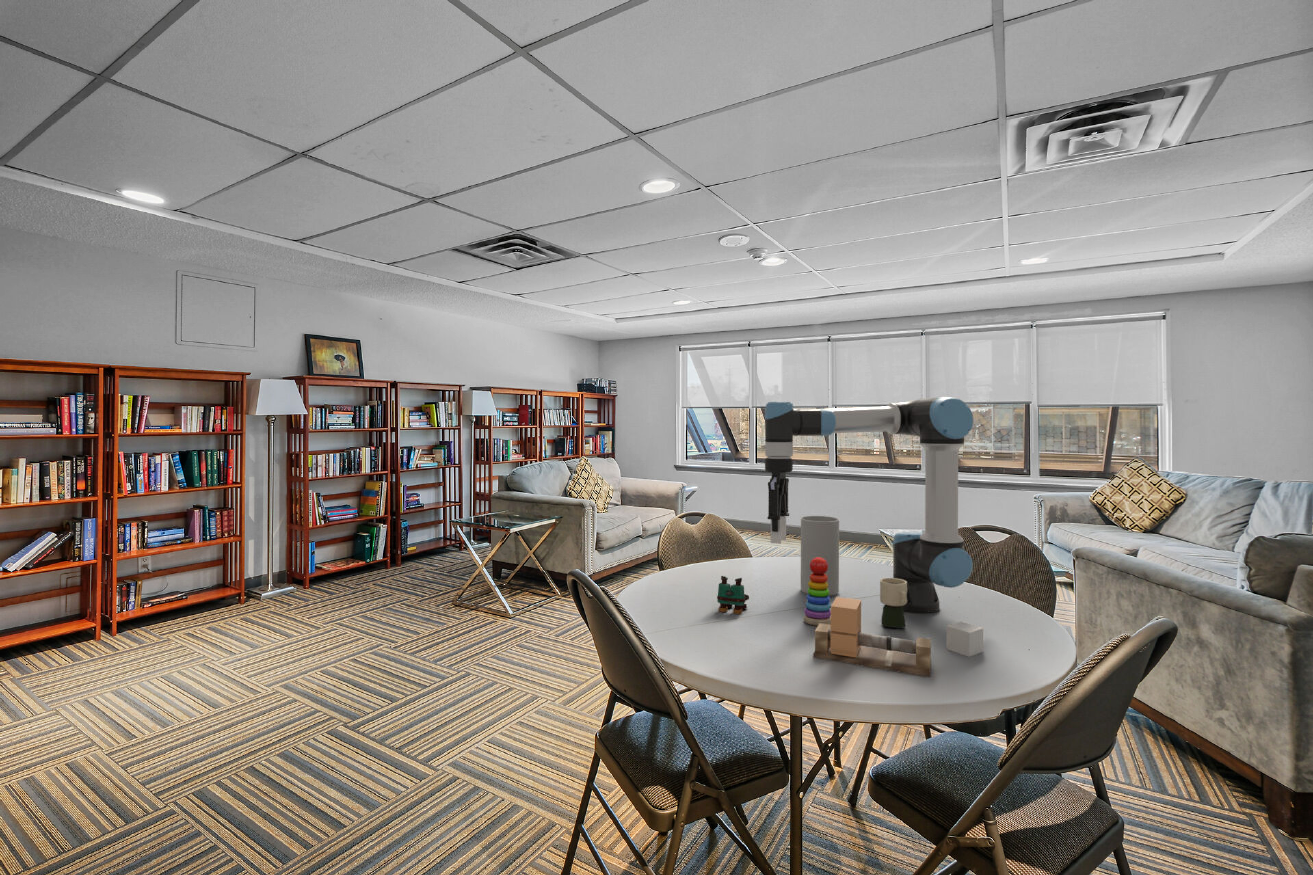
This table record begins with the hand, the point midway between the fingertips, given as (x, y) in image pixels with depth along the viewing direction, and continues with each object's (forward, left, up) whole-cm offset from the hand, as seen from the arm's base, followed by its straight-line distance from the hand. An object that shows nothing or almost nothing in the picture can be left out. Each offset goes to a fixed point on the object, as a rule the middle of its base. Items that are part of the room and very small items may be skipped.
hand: (778, 541), depth 165 cm
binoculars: (+9, -19, -25) cm, 33 cm away
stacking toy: (-13, -5, -25) cm, 29 cm away
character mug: (-33, 0, -25) cm, 41 cm away
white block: (-43, +18, -25) cm, 53 cm away
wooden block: (-12, +19, -23) cm, 32 cm away
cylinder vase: (-24, -35, -25) cm, 49 cm away
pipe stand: (-17, +22, -25) cm, 37 cm away
